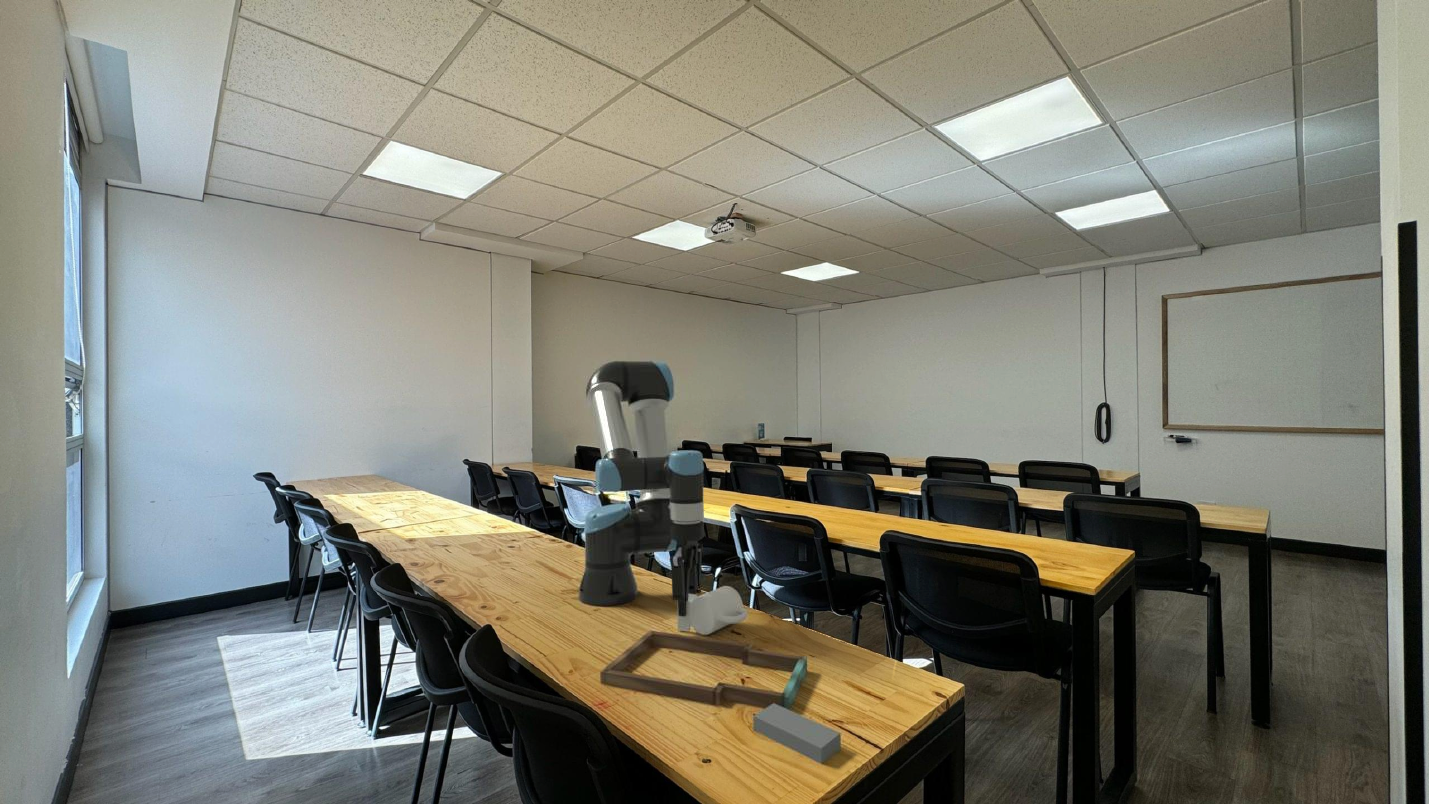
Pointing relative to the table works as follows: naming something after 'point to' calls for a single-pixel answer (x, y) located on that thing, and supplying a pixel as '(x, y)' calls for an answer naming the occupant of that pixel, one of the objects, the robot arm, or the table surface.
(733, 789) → the table surface
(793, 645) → the table surface
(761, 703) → the keyhole corral
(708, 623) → the mug
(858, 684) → the table surface
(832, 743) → the block
